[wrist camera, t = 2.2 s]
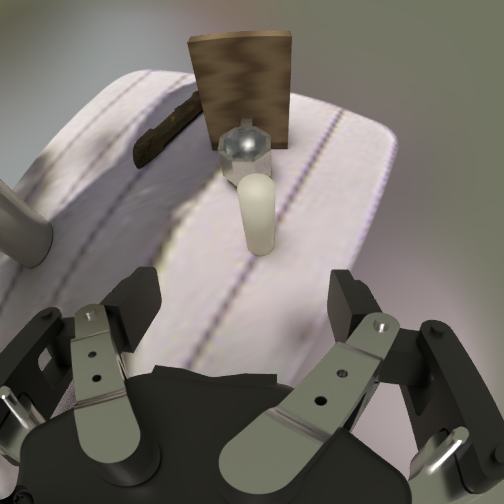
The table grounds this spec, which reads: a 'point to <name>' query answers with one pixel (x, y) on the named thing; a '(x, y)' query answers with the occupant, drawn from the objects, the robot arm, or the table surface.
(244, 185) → the cream white cylinder
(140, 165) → the hand tool
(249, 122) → the metal cup
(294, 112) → the table surface
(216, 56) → the wooden bookend
